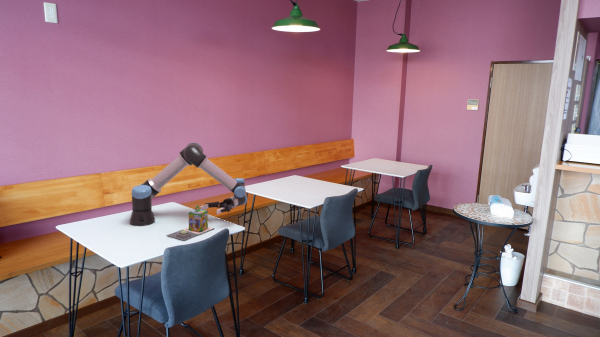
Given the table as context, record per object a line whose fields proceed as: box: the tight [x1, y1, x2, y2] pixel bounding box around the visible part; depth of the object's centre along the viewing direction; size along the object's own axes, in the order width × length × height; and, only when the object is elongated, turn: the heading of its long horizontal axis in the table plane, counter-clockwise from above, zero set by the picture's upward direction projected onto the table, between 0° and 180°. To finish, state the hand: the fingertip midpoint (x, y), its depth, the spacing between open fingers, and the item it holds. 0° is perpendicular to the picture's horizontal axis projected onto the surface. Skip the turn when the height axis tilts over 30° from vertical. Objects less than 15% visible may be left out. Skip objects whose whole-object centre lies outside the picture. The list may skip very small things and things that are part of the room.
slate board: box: [166, 226, 215, 242], centre depth 240 cm, size 14×26×2 cm, turn 151°
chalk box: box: [188, 204, 209, 232], centre depth 243 cm, size 9×9×15 cm
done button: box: [179, 229, 187, 235], centre depth 232 cm, size 4×4×2 cm
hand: (208, 210), depth 251 cm, fingers open, 13 cm apart
